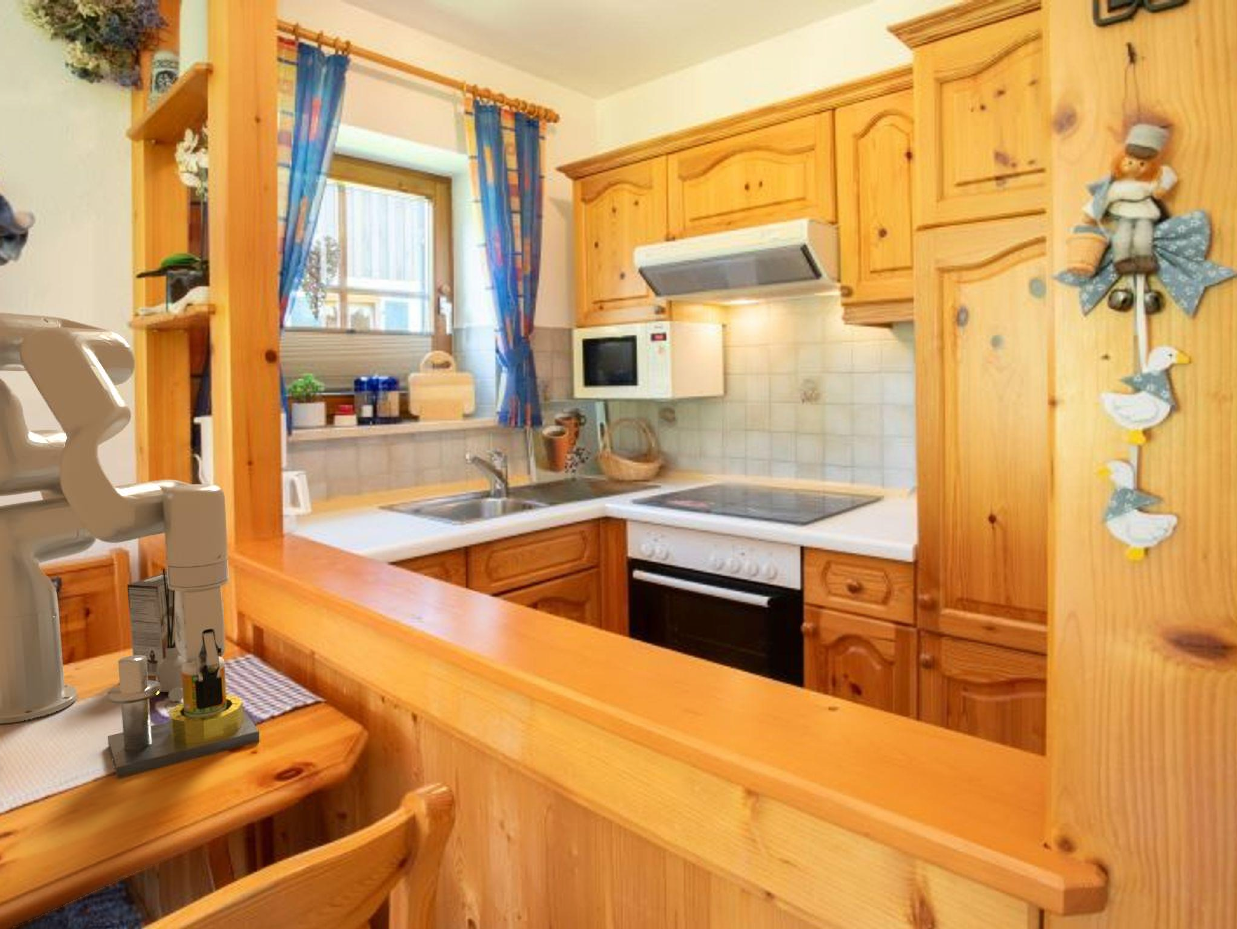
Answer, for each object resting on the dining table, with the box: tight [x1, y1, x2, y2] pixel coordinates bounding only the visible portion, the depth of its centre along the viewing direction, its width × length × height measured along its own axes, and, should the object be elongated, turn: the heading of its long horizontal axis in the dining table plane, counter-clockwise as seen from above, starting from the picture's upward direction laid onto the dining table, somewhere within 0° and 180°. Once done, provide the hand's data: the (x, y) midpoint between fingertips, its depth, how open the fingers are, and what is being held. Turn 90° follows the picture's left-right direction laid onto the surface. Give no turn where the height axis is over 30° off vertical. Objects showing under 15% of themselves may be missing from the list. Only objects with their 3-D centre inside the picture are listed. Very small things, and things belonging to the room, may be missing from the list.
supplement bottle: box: [182, 653, 227, 718], centre depth 111 cm, size 5×5×10 cm
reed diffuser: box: [155, 568, 186, 702], centre depth 127 cm, size 10×7×20 cm
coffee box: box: [126, 571, 182, 677], centre depth 138 cm, size 9×6×16 cm
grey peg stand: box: [107, 654, 260, 779], centre depth 109 cm, size 17×11×14 cm, turn 128°
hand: (205, 697), depth 111 cm, fingers closed on supplement bottle, 5 cm apart
